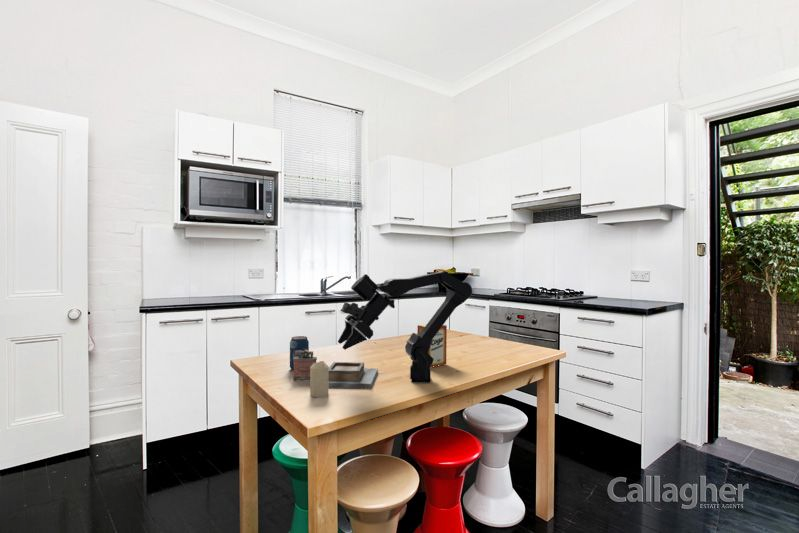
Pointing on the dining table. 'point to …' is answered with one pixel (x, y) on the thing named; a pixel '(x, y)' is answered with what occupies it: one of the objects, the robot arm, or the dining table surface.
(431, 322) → the robot arm
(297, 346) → the soda can
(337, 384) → the candle stand
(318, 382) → the candle
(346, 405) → the dining table surface
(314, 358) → the lighter
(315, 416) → the dining table surface
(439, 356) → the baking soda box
